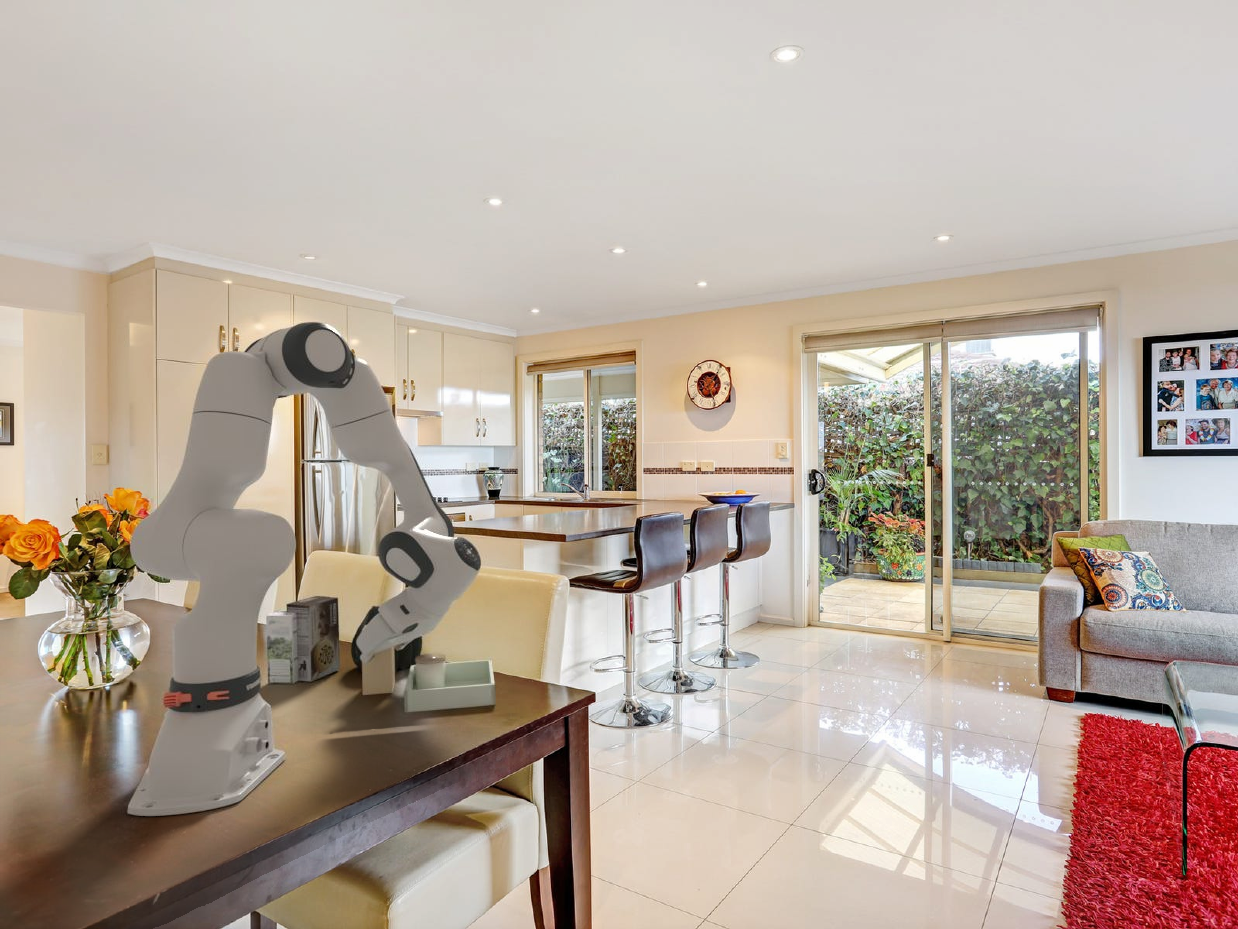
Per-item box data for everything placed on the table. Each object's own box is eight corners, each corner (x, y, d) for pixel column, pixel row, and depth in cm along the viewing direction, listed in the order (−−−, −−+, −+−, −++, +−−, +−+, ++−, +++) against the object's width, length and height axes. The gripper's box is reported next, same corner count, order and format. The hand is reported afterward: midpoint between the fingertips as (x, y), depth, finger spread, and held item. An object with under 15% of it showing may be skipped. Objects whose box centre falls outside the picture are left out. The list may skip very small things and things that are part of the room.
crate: (495, 709, 132) (494, 684, 132) (404, 716, 129) (404, 691, 129) (491, 681, 149) (491, 659, 149) (411, 687, 146) (411, 665, 146)
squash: (444, 643, 159) (411, 589, 164) (389, 663, 146) (355, 603, 151) (413, 678, 165) (383, 625, 170) (358, 700, 153) (326, 641, 158)
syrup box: (307, 676, 155) (306, 608, 155) (292, 684, 149) (291, 614, 149) (281, 676, 155) (280, 608, 155) (266, 684, 149) (265, 614, 149)
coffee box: (317, 667, 160) (315, 595, 160) (341, 670, 158) (339, 596, 158) (286, 679, 152) (285, 603, 152) (311, 682, 150) (310, 604, 150)
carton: (392, 696, 140) (391, 629, 140) (362, 699, 139) (361, 631, 139) (395, 687, 146) (394, 623, 146) (366, 690, 145) (365, 625, 145)
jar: (445, 691, 141) (445, 659, 141) (414, 693, 140) (414, 662, 139) (446, 682, 146) (445, 652, 146) (416, 684, 145) (416, 654, 145)
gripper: (443, 585, 149) (405, 629, 153) (375, 605, 130) (334, 654, 134) (462, 608, 147) (423, 652, 151) (396, 632, 128) (353, 681, 132)
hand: (381, 653), depth 142 cm, fingers open, 8 cm apart
